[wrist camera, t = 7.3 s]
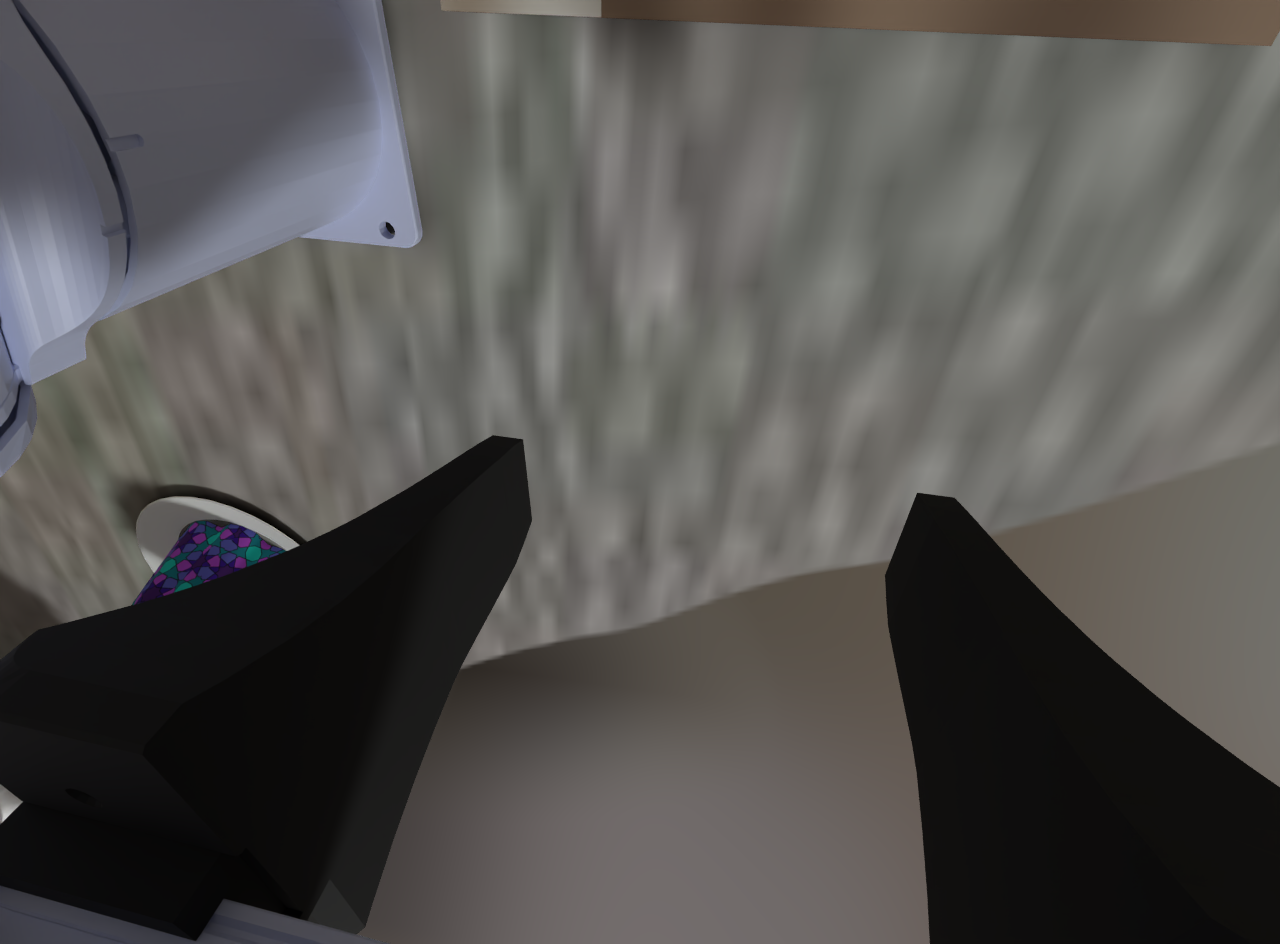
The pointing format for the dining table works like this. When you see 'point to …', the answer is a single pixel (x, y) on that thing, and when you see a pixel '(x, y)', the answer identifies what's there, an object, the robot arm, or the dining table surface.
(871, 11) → the lane board
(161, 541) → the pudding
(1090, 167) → the dining table surface
